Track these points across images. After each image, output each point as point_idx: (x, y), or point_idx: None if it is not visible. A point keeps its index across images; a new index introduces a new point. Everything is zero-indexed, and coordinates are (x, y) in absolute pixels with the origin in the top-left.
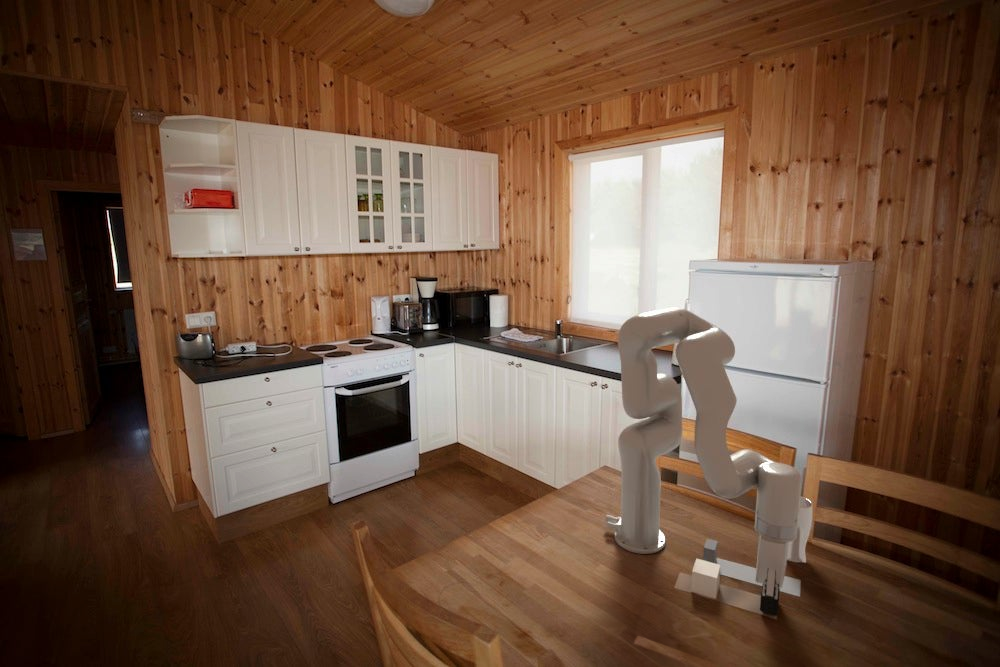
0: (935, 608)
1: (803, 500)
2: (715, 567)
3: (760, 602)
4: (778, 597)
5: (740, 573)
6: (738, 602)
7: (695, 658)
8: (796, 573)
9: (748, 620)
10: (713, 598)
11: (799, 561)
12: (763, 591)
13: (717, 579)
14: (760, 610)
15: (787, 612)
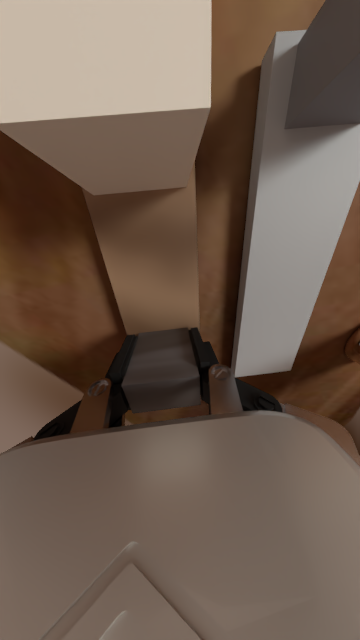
0: None
1: None
2: (141, 49)
3: (121, 349)
4: (129, 409)
5: (284, 249)
6: (133, 275)
7: None
8: (319, 353)
9: (105, 305)
10: None
11: (358, 360)
12: (83, 403)
13: (62, 146)
14: (128, 335)
15: None
